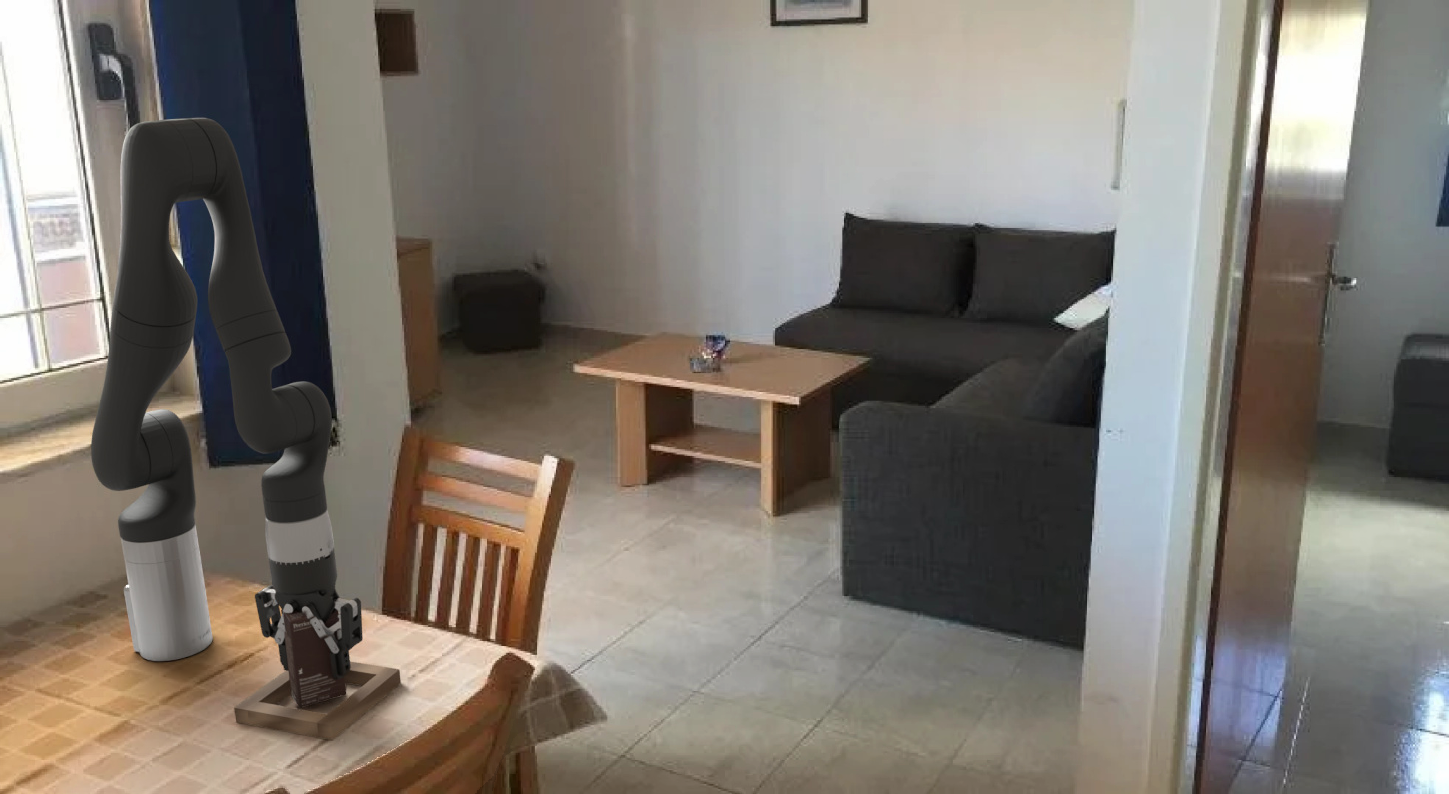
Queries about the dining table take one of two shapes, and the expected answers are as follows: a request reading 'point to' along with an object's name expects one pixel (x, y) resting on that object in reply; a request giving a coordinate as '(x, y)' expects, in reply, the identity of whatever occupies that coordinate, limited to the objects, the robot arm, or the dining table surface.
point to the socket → (327, 726)
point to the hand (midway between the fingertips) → (316, 672)
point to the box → (310, 661)
